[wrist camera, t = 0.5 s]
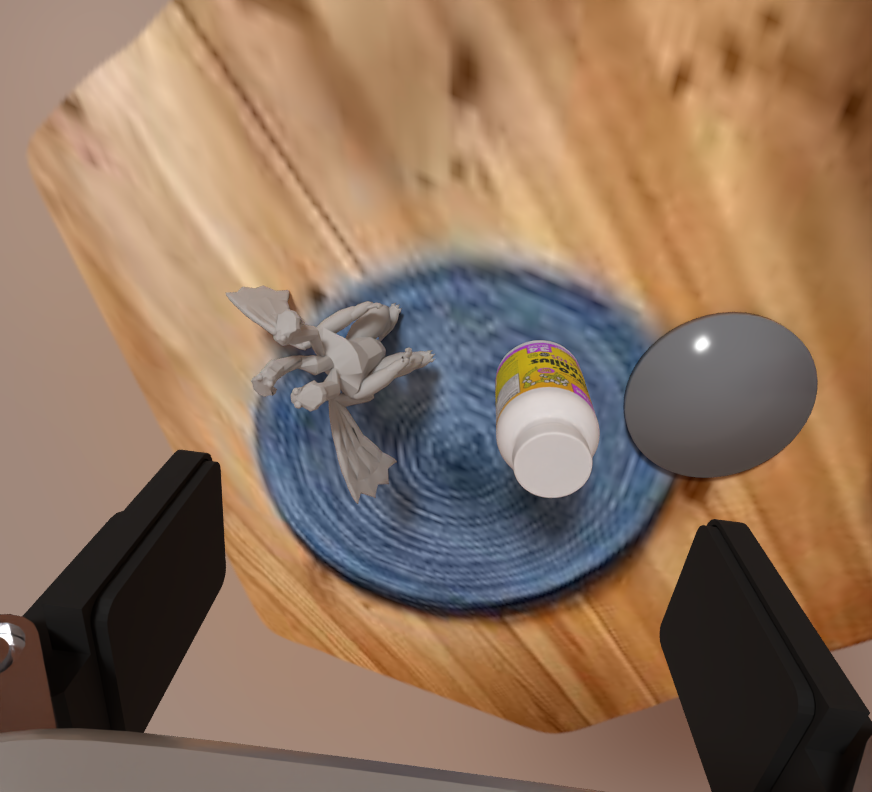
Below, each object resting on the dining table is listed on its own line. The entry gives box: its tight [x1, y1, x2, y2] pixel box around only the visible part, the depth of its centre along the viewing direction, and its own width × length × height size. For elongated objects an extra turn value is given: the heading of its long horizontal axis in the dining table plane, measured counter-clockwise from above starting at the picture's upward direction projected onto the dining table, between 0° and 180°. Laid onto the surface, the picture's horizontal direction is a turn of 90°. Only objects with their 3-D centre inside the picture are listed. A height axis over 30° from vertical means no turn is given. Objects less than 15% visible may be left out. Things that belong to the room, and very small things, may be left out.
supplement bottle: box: [495, 340, 599, 498], centre depth 41 cm, size 7×7×13 cm
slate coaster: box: [624, 312, 817, 478], centre depth 46 cm, size 14×14×1 cm
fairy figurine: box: [226, 286, 435, 504], centre depth 41 cm, size 10×18×14 cm, turn 39°
